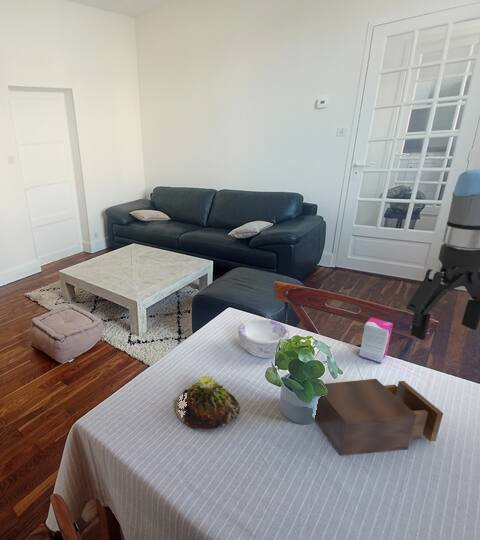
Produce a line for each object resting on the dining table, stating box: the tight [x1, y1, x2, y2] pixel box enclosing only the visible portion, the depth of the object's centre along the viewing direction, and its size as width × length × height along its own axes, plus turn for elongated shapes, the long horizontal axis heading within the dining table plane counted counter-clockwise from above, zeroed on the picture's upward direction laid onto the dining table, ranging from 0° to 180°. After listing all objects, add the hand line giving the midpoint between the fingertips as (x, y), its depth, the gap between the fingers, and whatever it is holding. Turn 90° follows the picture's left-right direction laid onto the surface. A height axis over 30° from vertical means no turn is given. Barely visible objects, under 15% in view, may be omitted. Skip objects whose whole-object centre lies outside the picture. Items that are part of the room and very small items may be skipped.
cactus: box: [174, 375, 241, 430], centre depth 89 cm, size 17×16×10 cm
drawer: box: [384, 380, 444, 442], centre depth 77 cm, size 15×10×8 cm
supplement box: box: [358, 317, 394, 365], centre depth 100 cm, size 6×6×12 cm
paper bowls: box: [238, 318, 290, 359], centre depth 110 cm, size 15×15×8 cm
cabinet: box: [314, 378, 416, 456], centre depth 77 cm, size 15×12×10 cm
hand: (443, 332), depth 79 cm, fingers open, 13 cm apart
